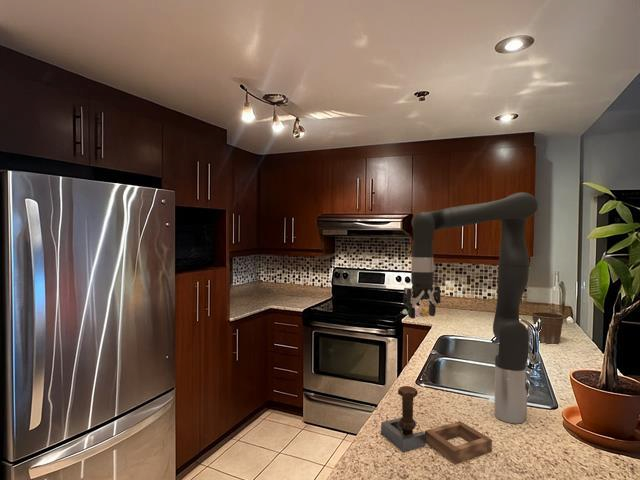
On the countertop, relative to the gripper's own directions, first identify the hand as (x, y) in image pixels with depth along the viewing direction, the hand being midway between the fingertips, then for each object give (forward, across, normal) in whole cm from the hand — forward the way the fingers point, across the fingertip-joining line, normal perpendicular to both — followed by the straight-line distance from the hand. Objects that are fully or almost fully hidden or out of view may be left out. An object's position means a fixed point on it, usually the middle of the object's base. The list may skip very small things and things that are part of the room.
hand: (422, 317), depth 135 cm
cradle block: (+33, +17, +12) cm, 39 cm away
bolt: (+33, +15, +12) cm, 39 cm away
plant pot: (+33, -120, -37) cm, 130 cm away
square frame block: (+33, +5, +22) cm, 40 cm away
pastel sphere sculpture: (+34, -99, -126) cm, 164 cm away
